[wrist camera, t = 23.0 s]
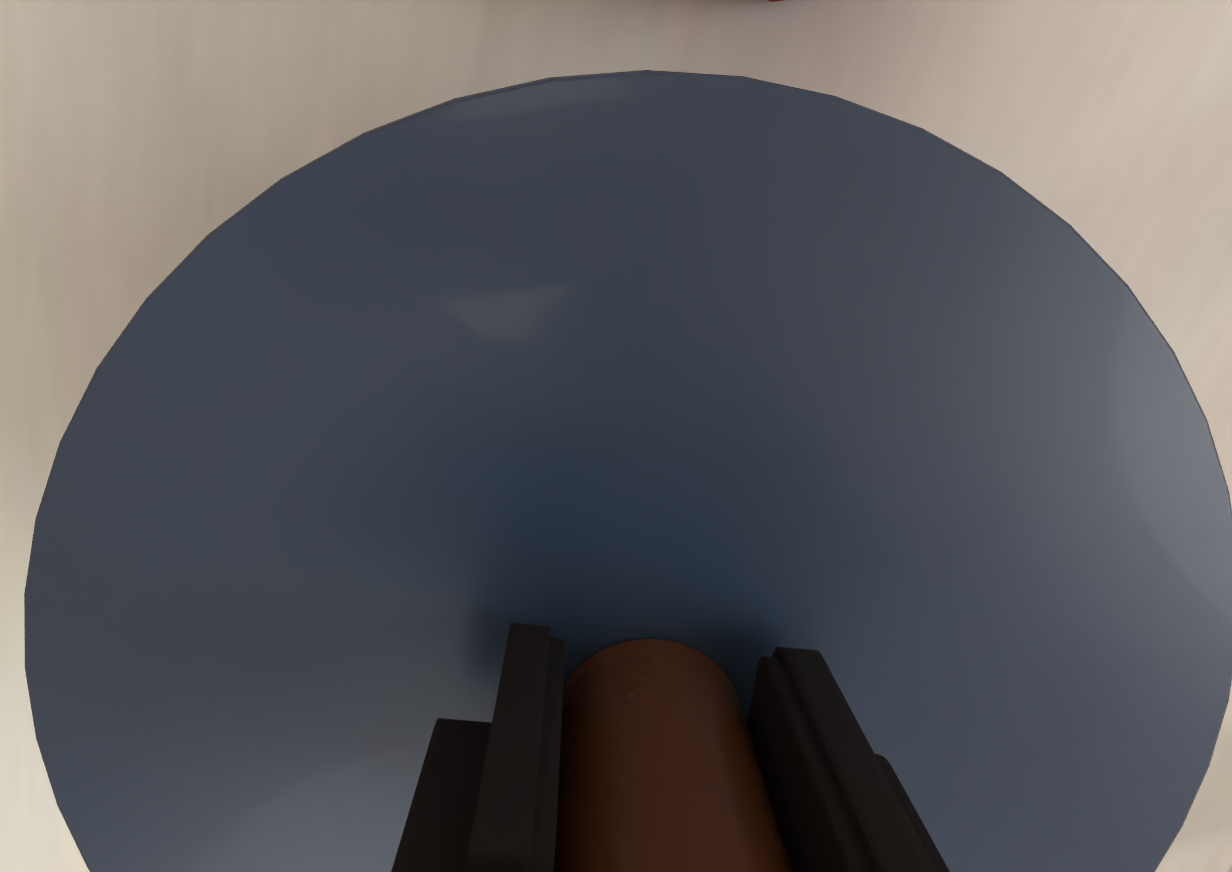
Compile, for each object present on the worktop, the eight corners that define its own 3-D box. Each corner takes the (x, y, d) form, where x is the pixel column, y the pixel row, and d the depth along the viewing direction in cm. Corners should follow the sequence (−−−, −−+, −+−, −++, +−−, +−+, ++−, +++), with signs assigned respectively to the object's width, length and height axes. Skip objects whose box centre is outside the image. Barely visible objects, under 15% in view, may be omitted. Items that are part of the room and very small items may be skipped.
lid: (39, -3, 9) (-1461, -598, 3) (1340, 176, 11) (2771, 104, 4) (106, 1052, 14) (-378, 1894, 7) (1023, 1100, 15) (1401, 1867, 8)
